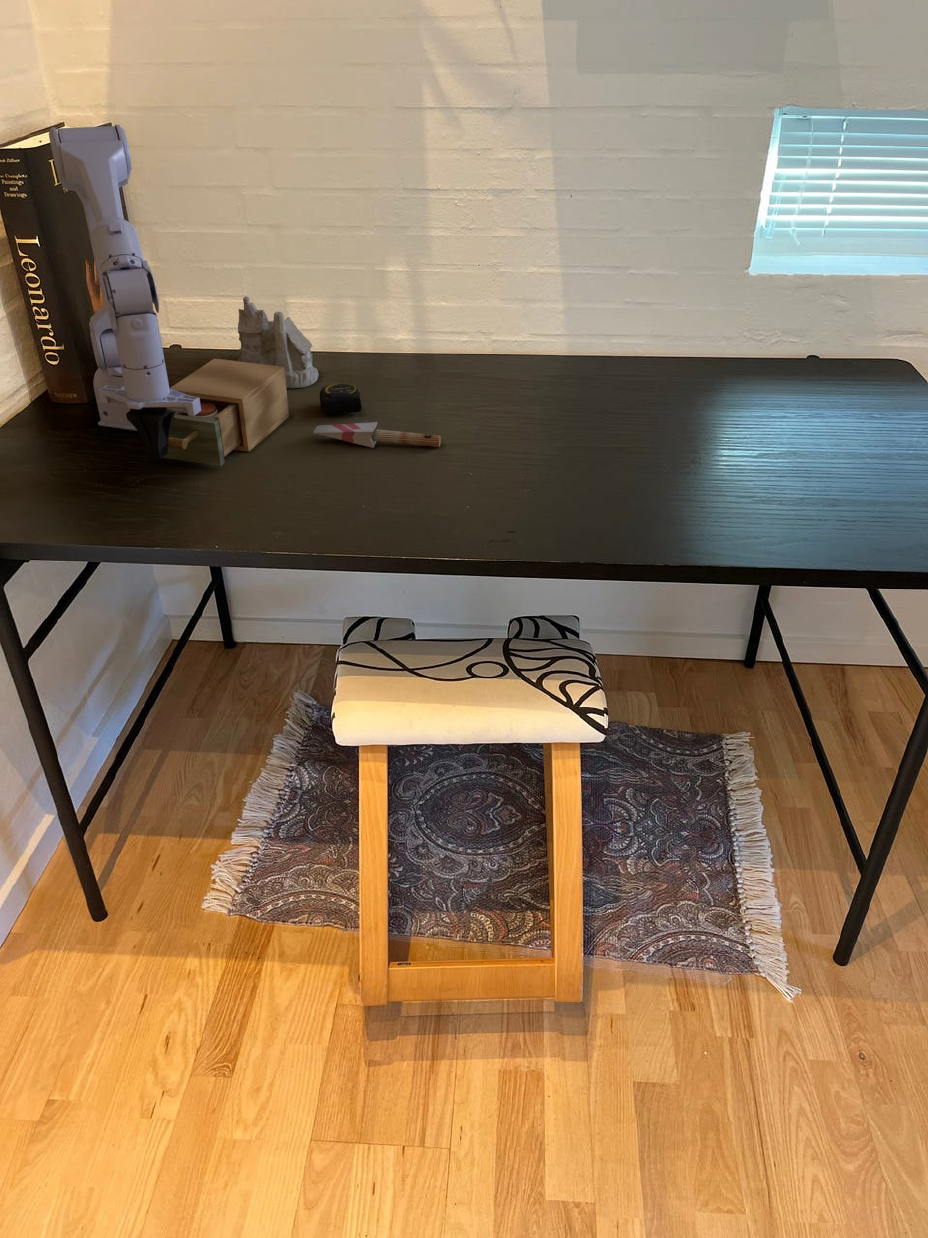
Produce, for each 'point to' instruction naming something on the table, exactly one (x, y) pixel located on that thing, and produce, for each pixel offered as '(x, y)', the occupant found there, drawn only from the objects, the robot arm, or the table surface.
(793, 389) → the table surface
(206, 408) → the paint pot
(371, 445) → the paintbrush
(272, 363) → the ceramic cottage
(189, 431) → the drawer
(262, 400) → the cabinet
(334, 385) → the tape measure
